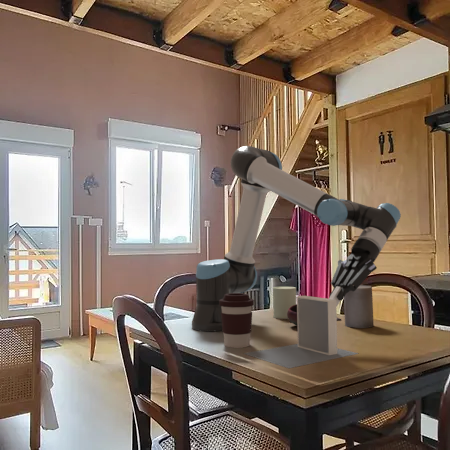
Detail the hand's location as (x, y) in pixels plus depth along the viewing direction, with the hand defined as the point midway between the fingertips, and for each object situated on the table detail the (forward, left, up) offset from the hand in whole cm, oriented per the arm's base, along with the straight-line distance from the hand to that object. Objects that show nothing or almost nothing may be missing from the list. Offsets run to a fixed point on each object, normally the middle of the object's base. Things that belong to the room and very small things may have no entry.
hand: (329, 307), depth 131 cm
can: (-38, +42, -12) cm, 58 cm away
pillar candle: (-7, +39, -12) cm, 42 cm away
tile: (-2, -5, -11) cm, 12 cm away
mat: (-4, -10, -12) cm, 16 cm away
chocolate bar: (-26, +49, -12) cm, 57 cm away
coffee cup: (-24, -11, -12) cm, 29 cm away
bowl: (-23, +29, -12) cm, 39 cm away
